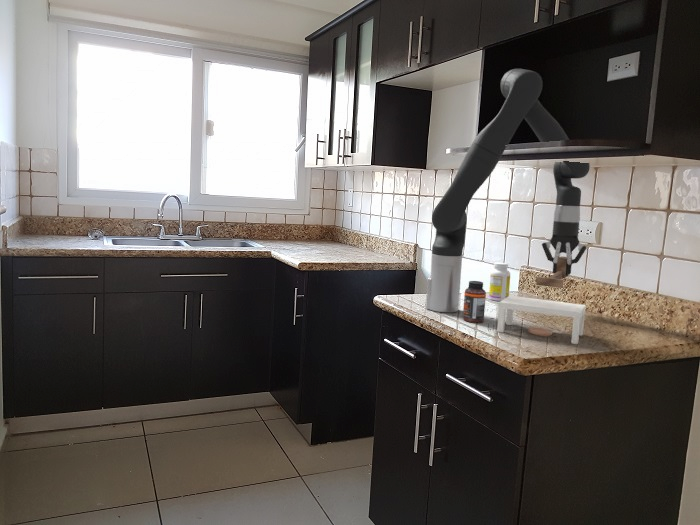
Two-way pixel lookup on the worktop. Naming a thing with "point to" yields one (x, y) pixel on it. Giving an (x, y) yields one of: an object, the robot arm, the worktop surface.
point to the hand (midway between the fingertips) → (561, 275)
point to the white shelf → (542, 307)
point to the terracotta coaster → (540, 330)
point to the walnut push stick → (555, 275)
